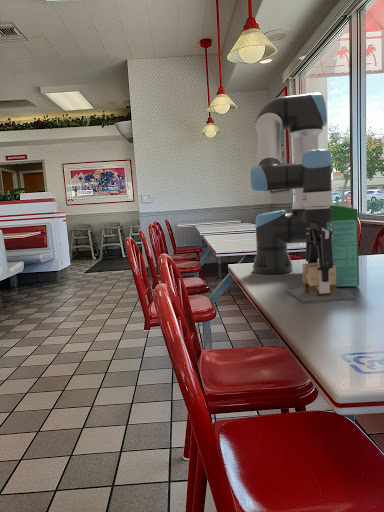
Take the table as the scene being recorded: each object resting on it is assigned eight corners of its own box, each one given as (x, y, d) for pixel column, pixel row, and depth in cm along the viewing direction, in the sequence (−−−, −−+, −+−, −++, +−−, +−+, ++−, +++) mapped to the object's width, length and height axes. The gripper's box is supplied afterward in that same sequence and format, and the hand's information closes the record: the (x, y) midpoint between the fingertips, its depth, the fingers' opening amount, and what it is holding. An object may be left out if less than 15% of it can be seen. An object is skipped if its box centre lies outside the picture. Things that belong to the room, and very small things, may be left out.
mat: (287, 291, 115) (287, 289, 115) (333, 288, 115) (333, 286, 115) (302, 302, 101) (302, 300, 101) (354, 299, 101) (354, 297, 101)
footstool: (302, 290, 111) (302, 263, 110) (326, 289, 112) (326, 262, 110) (310, 296, 105) (310, 267, 103) (336, 295, 105) (335, 266, 104)
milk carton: (359, 286, 113) (357, 201, 112) (327, 286, 115) (324, 203, 113) (352, 282, 122) (351, 203, 120) (323, 282, 124) (321, 205, 122)
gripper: (293, 208, 115) (295, 283, 118) (316, 209, 95) (318, 299, 98) (318, 207, 115) (319, 282, 118) (346, 207, 95) (347, 297, 98)
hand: (319, 289), depth 108 cm, fingers open, 7 cm apart
